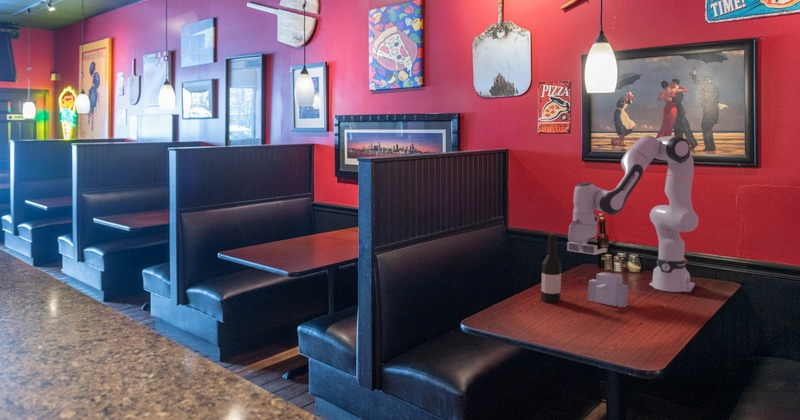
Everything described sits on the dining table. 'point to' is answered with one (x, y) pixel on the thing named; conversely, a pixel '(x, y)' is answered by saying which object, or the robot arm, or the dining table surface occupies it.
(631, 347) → the dining table surface
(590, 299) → the white block with peg
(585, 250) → the white u-shaped bracket
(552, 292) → the wine bottle
